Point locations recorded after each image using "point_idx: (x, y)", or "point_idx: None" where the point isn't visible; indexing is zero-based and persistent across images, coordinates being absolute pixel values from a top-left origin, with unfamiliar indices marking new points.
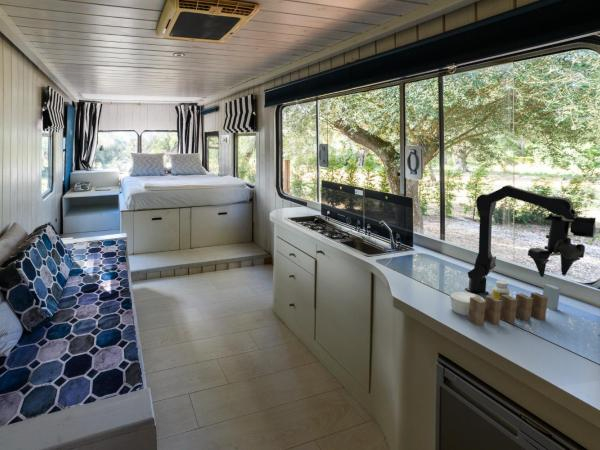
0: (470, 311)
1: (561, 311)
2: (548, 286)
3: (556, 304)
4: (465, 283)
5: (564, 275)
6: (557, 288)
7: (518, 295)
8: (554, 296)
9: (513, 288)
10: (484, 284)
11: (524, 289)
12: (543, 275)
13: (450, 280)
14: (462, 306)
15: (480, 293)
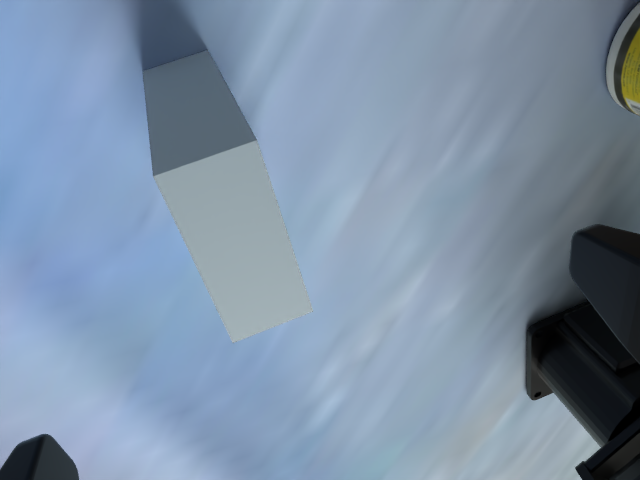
0: None
1: (116, 15)
2: (291, 249)
3: (168, 80)
4: (540, 446)
5: (41, 437)
6: (204, 169)
7: None
8: (227, 100)
9: (294, 467)
10: (624, 351)
11: (221, 476)
12: (606, 239)
13: (585, 460)
14: None
15: (588, 303)
